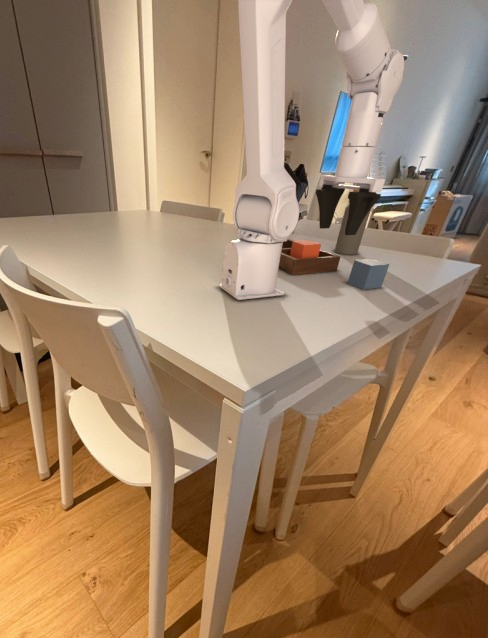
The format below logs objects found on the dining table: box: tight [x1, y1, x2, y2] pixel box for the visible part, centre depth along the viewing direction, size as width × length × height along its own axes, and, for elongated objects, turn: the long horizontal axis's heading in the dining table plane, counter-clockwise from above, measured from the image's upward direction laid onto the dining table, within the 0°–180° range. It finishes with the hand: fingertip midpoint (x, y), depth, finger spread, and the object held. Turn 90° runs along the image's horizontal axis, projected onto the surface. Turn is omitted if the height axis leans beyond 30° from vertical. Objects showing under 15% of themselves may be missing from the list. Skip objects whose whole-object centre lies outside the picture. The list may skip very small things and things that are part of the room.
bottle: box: [334, 186, 371, 256], centre depth 86 cm, size 6×6×15 cm
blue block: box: [347, 258, 390, 291], centre depth 65 cm, size 4×4×4 cm
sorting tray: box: [278, 238, 341, 276], centre depth 80 cm, size 20×12×3 cm, turn 20°
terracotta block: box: [290, 239, 322, 259], centre depth 75 cm, size 4×4×4 cm
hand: (336, 231), depth 68 cm, fingers open, 7 cm apart
